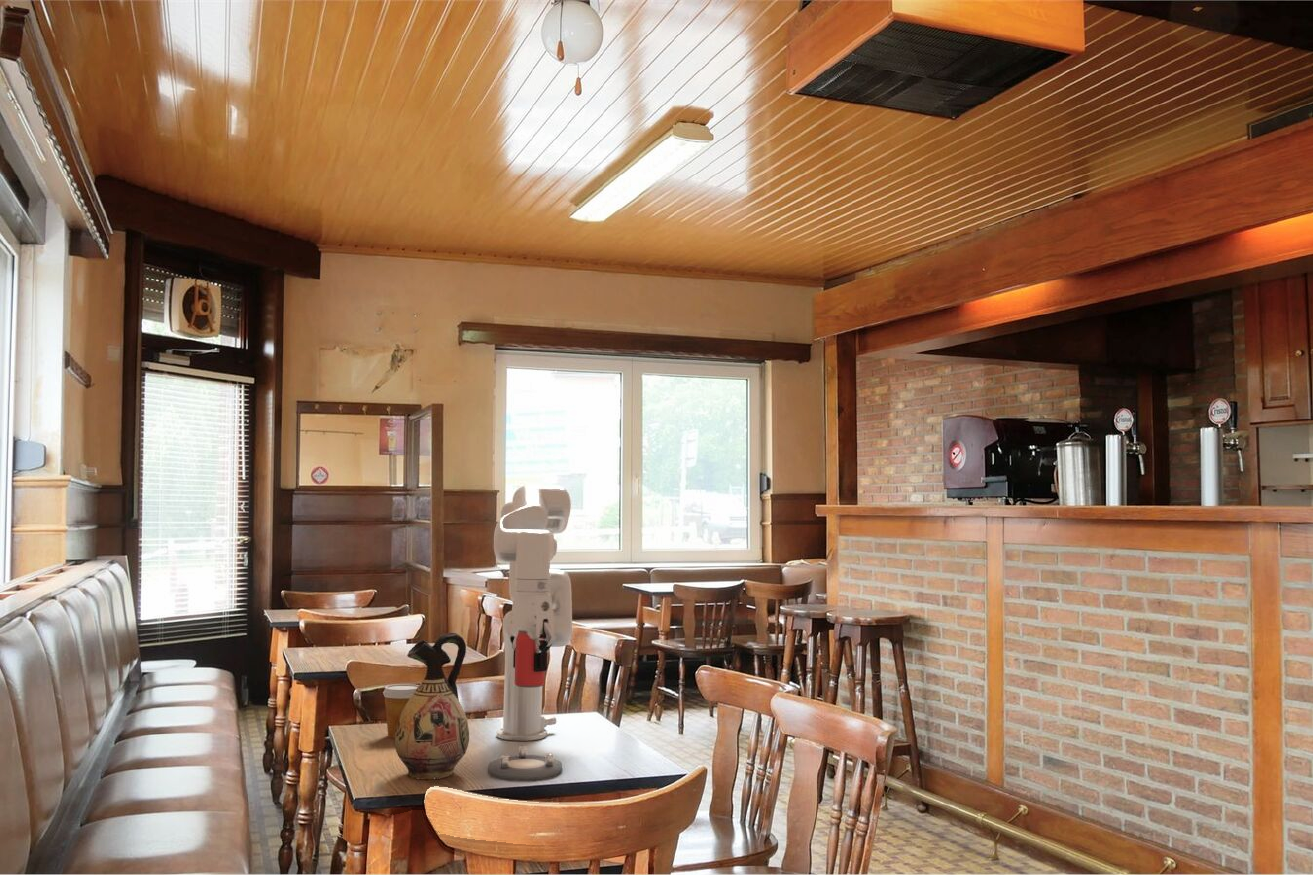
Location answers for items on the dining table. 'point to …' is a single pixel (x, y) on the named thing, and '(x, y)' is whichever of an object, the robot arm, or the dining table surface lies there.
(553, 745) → the dining table surface
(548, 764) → the steel pins
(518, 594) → the robot arm
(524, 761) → the pin plate
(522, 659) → the beer can
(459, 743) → the ceramic jug
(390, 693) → the disposable coffee cup
